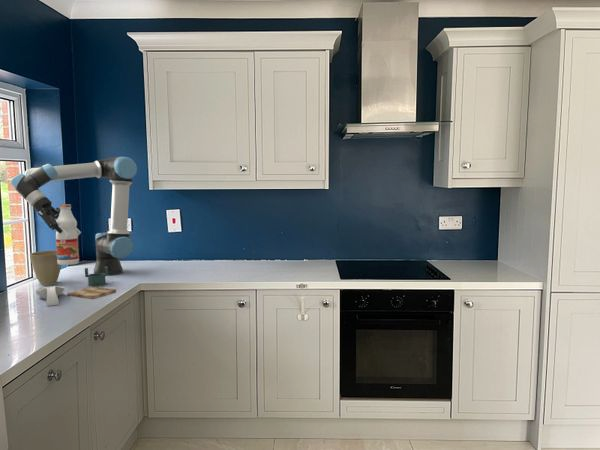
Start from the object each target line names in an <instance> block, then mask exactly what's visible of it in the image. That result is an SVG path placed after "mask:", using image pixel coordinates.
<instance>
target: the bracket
mask: <svg viewBox="0 0 600 450" xmlns="http://www.w3.org/2000/svg"><path fill="white" fill-rule="evenodd" d="M107 276H109V275H108V266H106V267H105V273H94V272H93V273H90V274H89V268H88V267H85V268H84V277H85V278H87V282H88V283H87V285H88V287H95V286H96V287H102V286H105V285H106V283H107V282H106V277H107Z"/></svg>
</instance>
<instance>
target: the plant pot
mask: <svg viewBox="0 0 600 450" xmlns="http://www.w3.org/2000/svg"><path fill="white" fill-rule="evenodd" d="M29 258H30V262H31V265H32V269H33V272H34V274H35V276H36V279H37V281H38V283H39V285H41V286H50V285H55V284H57V282H58V280H59V277H60V273H61V269H62V265H59V264H58V263H57V250H41V251H35V252H31V253H29Z"/></svg>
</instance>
